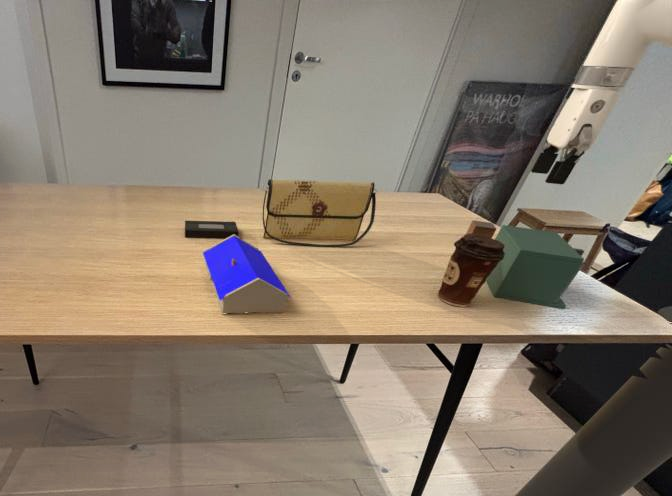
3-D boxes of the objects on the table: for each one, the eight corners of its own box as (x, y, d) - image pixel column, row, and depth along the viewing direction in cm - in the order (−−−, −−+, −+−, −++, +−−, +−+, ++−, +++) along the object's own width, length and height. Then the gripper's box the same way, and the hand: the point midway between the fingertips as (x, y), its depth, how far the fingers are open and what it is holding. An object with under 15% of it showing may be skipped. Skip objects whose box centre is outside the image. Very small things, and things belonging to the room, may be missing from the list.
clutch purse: (259, 245, 102) (268, 184, 93) (255, 235, 108) (263, 177, 98) (370, 248, 103) (390, 188, 94) (360, 238, 109) (378, 180, 99)
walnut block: (483, 240, 110) (492, 222, 107) (487, 246, 107) (496, 228, 103) (464, 237, 112) (472, 220, 108) (466, 243, 108) (475, 225, 105)
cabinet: (541, 277, 92) (569, 234, 86) (564, 309, 81) (599, 261, 74) (479, 267, 95) (502, 224, 89) (493, 296, 84) (521, 249, 77)
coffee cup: (431, 303, 81) (460, 243, 72) (428, 286, 87) (455, 229, 79) (478, 313, 78) (514, 251, 70) (472, 295, 84) (505, 236, 76)
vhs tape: (184, 227, 111) (185, 220, 109) (234, 228, 111) (235, 221, 110) (185, 237, 105) (185, 230, 103) (237, 238, 105) (238, 231, 104)
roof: (202, 265, 91) (203, 234, 87) (259, 263, 93) (263, 233, 89) (218, 314, 74) (221, 279, 70) (288, 311, 76) (295, 277, 72)
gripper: (650, 83, 65) (583, 190, 76) (604, 78, 78) (552, 171, 89) (596, 80, 67) (538, 185, 78) (560, 76, 80) (514, 167, 90)
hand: (546, 177), depth 83 cm, fingers open, 9 cm apart
